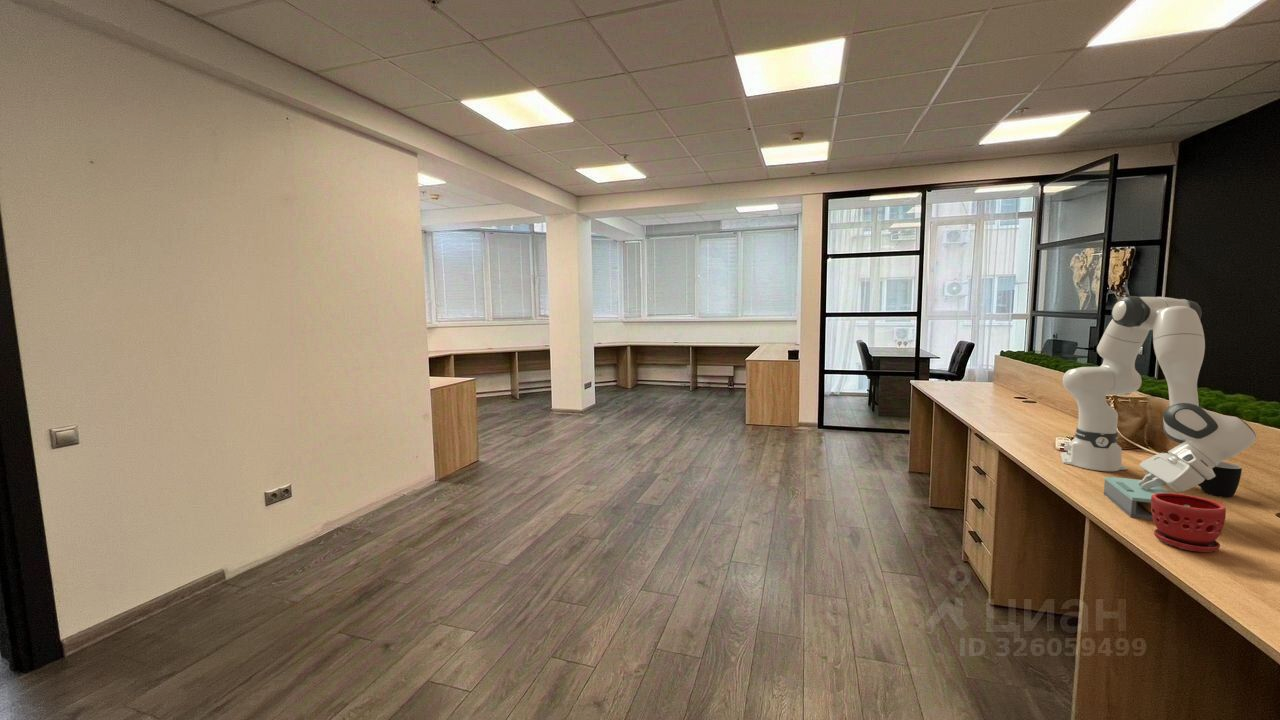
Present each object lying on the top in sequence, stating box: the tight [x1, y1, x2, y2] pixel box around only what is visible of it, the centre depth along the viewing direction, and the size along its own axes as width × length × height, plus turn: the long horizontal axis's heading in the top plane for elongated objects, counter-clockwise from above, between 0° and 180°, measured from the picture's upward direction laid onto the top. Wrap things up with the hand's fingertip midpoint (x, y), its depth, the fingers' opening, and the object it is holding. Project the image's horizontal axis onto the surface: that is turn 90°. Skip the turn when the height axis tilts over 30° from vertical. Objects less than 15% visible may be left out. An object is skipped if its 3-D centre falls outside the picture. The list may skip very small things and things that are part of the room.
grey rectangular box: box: [1103, 479, 1153, 521], centre depth 153 cm, size 20×12×5 cm, turn 154°
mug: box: [1197, 461, 1243, 498], centre depth 164 cm, size 12×9×10 cm
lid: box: [1104, 476, 1190, 507], centre depth 152 cm, size 20×12×1 cm, turn 154°
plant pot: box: [1151, 492, 1227, 553], centre depth 129 cm, size 13×13×12 cm
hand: (1141, 487), depth 152 cm, fingers closed, pressing on lid
